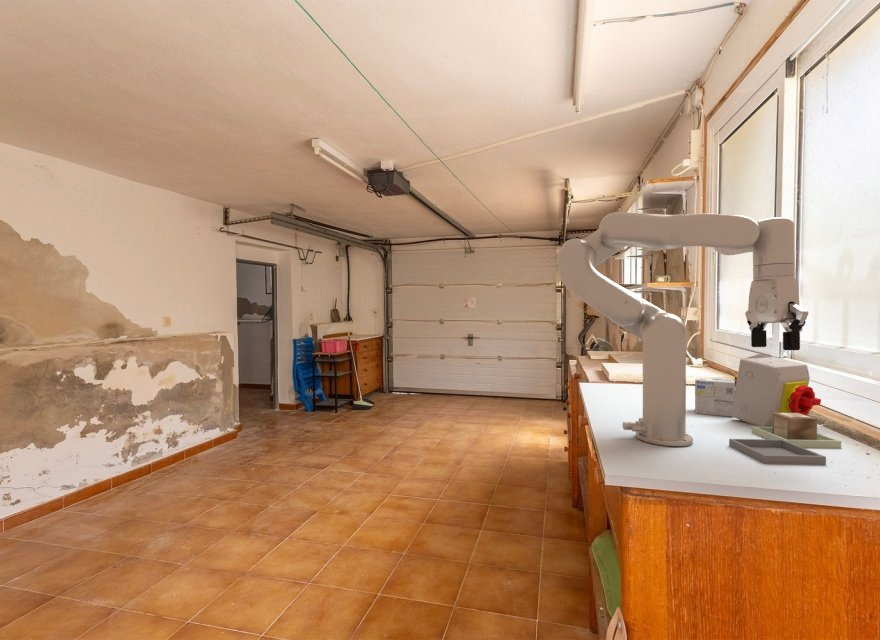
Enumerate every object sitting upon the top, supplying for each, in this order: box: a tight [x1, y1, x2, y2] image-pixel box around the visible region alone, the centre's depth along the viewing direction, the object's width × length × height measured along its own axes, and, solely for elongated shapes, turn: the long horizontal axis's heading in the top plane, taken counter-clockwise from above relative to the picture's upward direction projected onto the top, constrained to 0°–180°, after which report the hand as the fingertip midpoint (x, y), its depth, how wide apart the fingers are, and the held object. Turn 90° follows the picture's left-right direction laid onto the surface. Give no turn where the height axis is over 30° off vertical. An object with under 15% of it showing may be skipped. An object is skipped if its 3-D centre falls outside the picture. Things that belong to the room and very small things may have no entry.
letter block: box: [772, 413, 818, 440], centre depth 105 cm, size 6×6×6 cm
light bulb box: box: [694, 376, 736, 418], centre depth 135 cm, size 11×7×11 cm, turn 58°
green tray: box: [751, 426, 842, 449], centre depth 105 cm, size 12×12×2 cm
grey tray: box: [728, 438, 827, 466], centre depth 94 cm, size 12×12×2 cm
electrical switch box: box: [731, 353, 822, 427], centre depth 119 cm, size 15×15×20 cm
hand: (774, 348), depth 97 cm, fingers open, 9 cm apart
